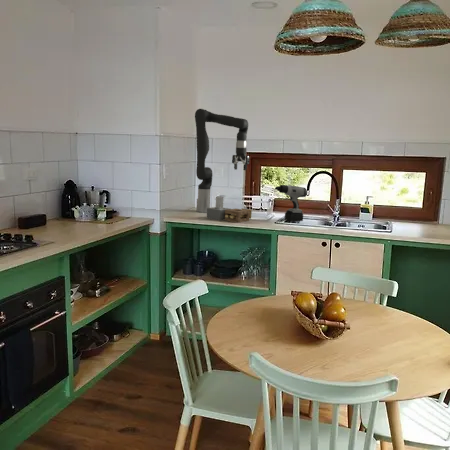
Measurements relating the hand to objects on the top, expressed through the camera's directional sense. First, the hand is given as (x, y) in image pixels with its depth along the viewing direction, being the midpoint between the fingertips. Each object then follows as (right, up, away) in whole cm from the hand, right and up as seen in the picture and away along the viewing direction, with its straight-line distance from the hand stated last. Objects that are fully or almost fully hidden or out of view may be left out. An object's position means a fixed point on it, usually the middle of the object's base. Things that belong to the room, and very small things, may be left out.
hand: (240, 169), depth 347 cm
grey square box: (-15, -35, -14) cm, 41 cm away
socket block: (-3, -37, -20) cm, 42 cm away
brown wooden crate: (-2, -36, -19) cm, 40 cm away
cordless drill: (+34, -37, -9) cm, 51 cm away
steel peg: (-15, -35, -14) cm, 41 cm away
